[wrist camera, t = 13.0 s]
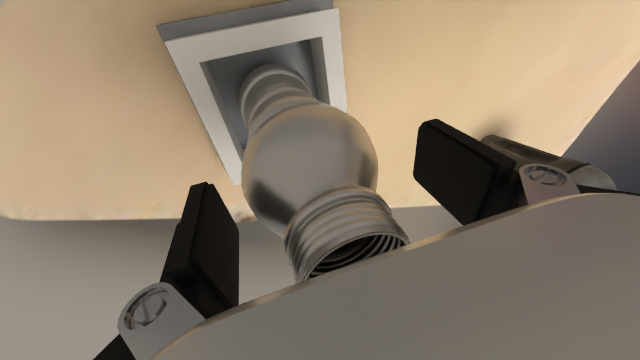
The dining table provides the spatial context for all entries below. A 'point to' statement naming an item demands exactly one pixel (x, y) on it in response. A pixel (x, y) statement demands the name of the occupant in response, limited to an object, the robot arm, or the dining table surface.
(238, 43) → the socket
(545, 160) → the beverage cup
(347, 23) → the dining table surface
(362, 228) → the plastic bottle
